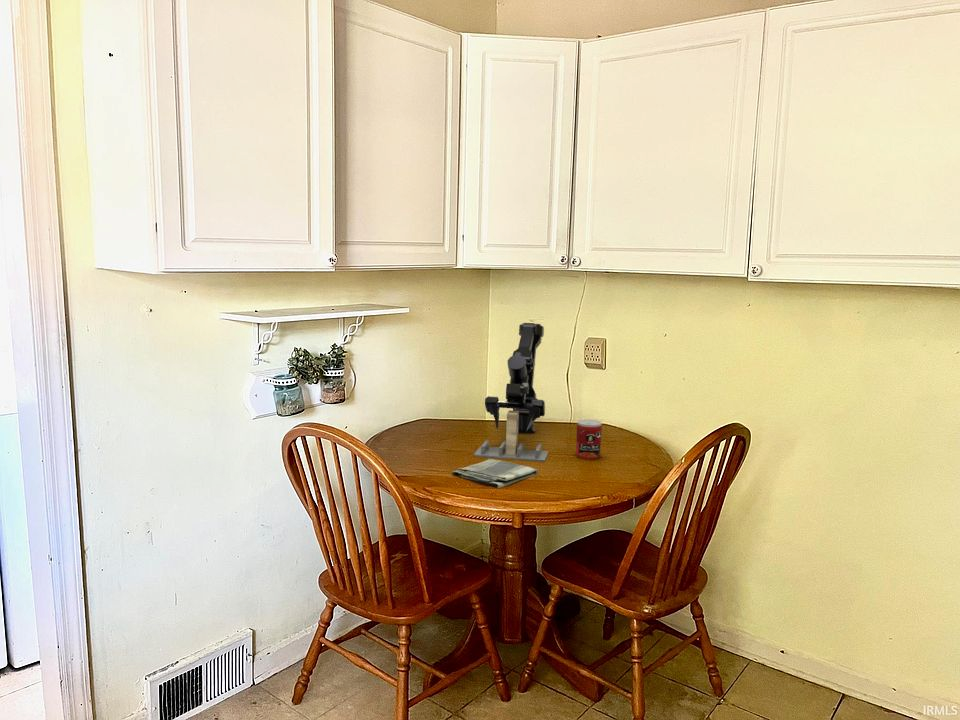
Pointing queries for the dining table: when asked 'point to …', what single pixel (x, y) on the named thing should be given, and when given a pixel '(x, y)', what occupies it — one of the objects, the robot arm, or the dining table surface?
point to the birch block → (512, 432)
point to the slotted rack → (520, 455)
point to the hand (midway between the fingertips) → (511, 429)
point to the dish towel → (495, 472)
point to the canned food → (588, 439)
